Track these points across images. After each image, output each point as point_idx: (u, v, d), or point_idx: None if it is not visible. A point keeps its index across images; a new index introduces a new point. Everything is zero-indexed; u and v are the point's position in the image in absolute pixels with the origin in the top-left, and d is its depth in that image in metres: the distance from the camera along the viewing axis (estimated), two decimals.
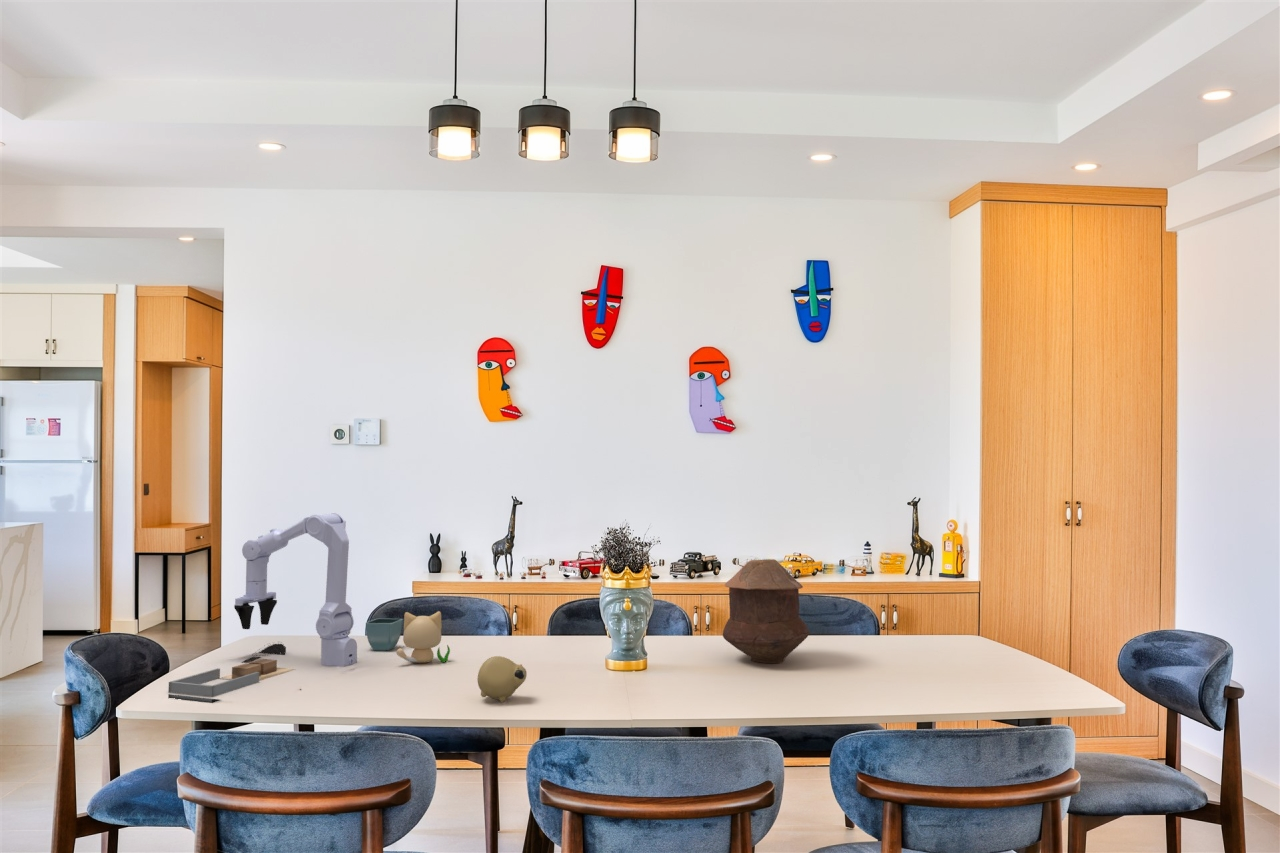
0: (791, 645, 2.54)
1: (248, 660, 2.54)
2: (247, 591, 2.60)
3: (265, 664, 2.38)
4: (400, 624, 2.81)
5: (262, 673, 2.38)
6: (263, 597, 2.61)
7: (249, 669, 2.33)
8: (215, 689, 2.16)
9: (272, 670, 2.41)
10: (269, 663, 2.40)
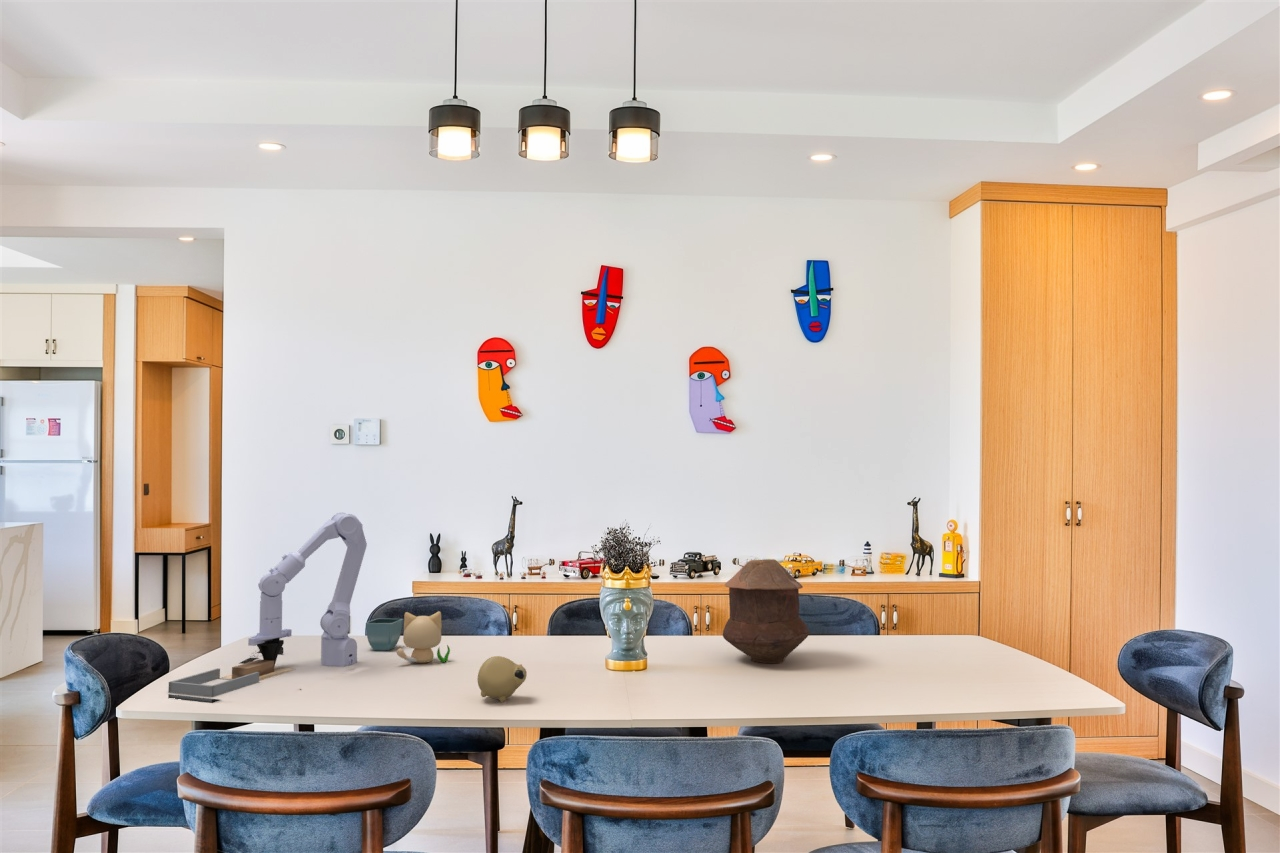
0: (791, 645, 2.54)
1: (246, 661, 2.53)
2: (261, 629, 2.41)
3: (262, 665, 2.37)
4: (400, 624, 2.81)
5: None
6: (278, 636, 2.42)
7: (249, 669, 2.33)
8: (215, 689, 2.16)
9: (270, 670, 2.40)
10: (266, 664, 2.39)
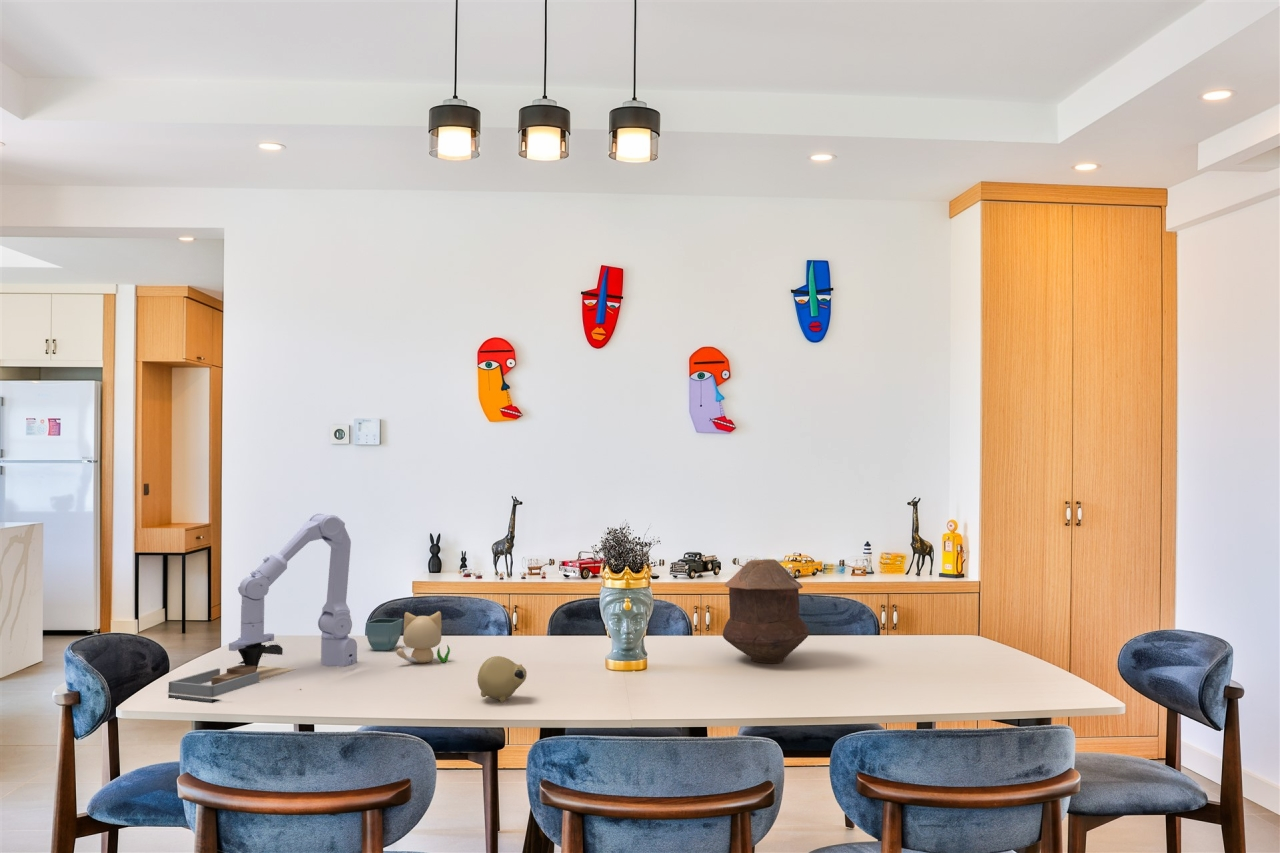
0: (791, 645, 2.54)
1: None
2: (242, 634, 2.35)
3: (244, 670, 2.31)
4: (400, 624, 2.81)
5: None
6: (260, 640, 2.36)
7: (229, 679, 2.26)
8: (215, 689, 2.16)
9: None
10: (248, 669, 2.32)
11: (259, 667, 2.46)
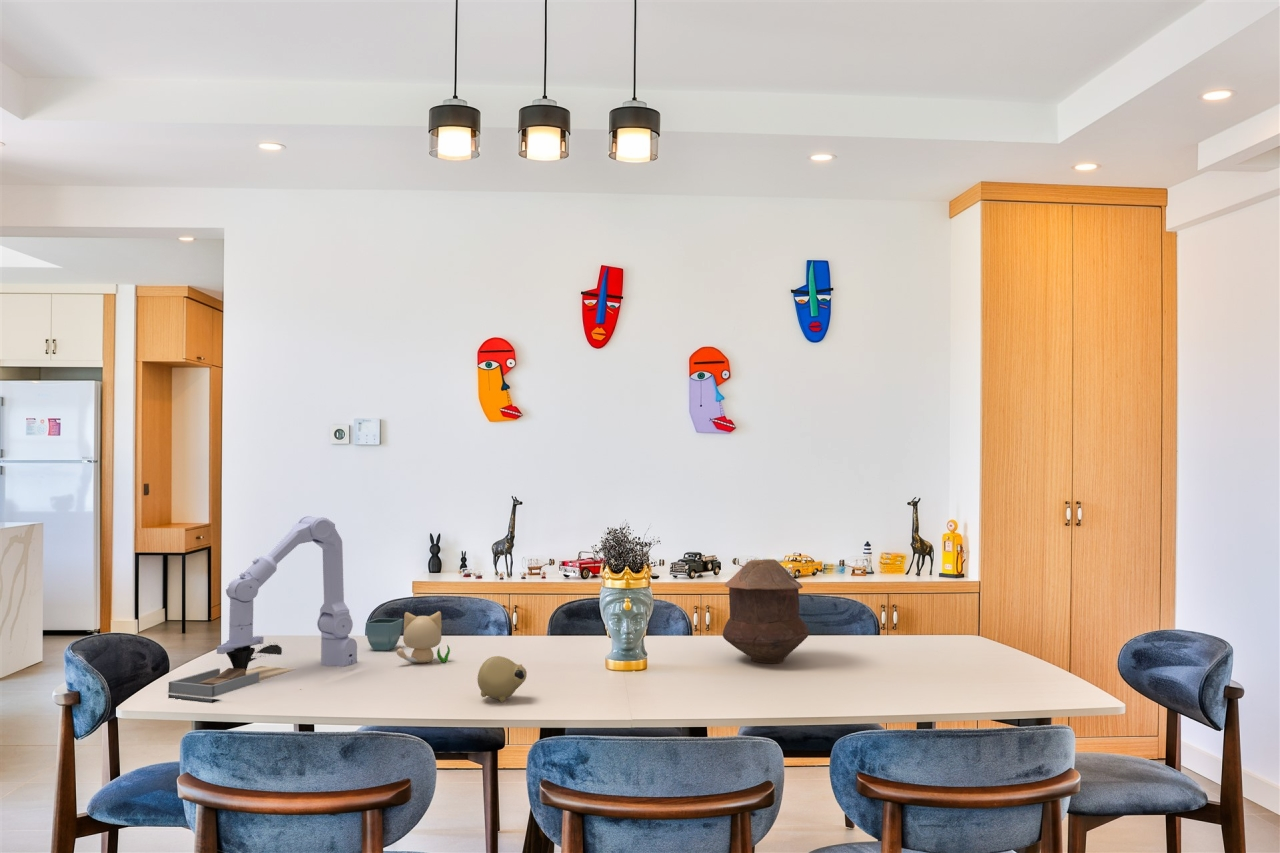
0: (791, 645, 2.54)
1: None
2: (230, 637, 2.31)
3: (233, 678, 2.27)
4: (400, 624, 2.81)
5: None
6: (248, 643, 2.32)
7: None
8: (215, 689, 2.16)
9: None
10: (237, 675, 2.28)
11: (259, 667, 2.46)
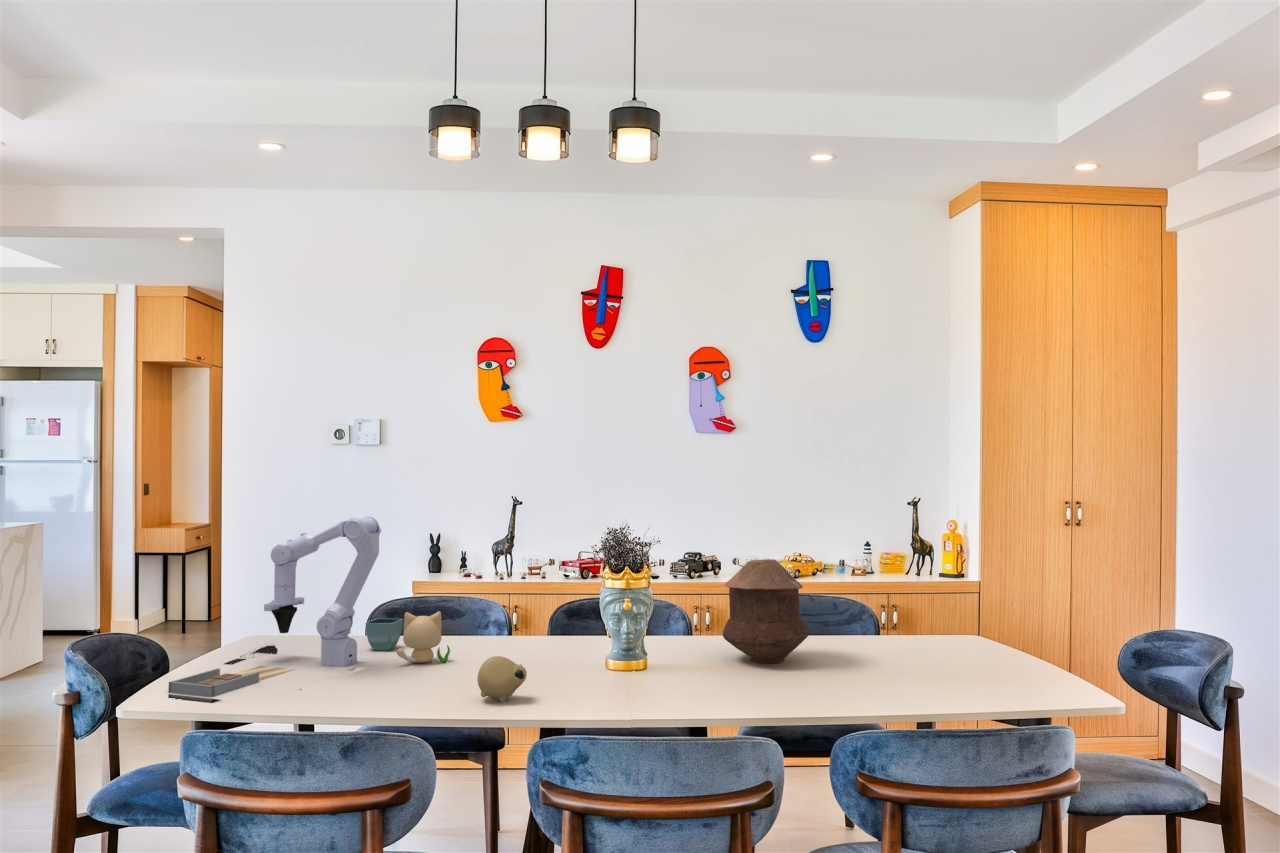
0: (791, 645, 2.54)
1: (231, 662, 2.52)
2: (275, 596, 2.54)
3: (229, 679, 2.26)
4: (400, 624, 2.81)
5: None
6: (292, 602, 2.55)
7: None
8: (215, 689, 2.16)
9: None
10: (233, 678, 2.27)
11: (259, 667, 2.46)
